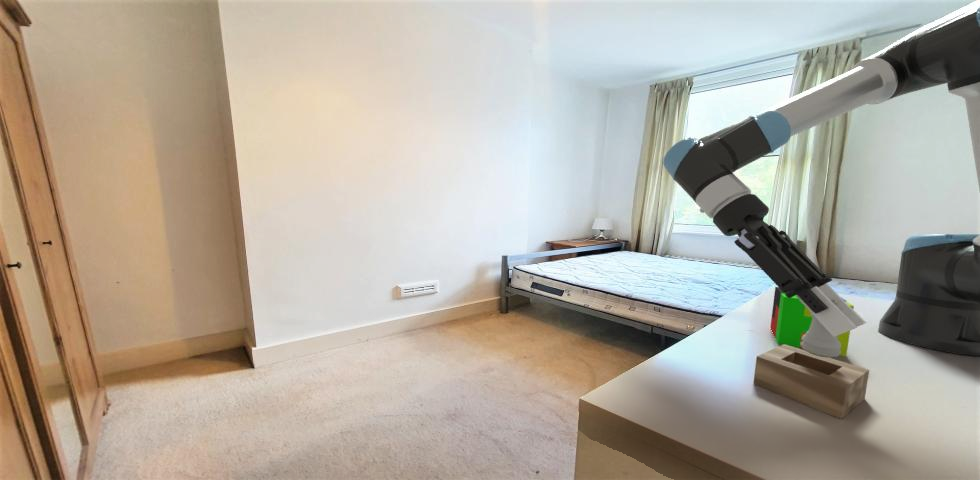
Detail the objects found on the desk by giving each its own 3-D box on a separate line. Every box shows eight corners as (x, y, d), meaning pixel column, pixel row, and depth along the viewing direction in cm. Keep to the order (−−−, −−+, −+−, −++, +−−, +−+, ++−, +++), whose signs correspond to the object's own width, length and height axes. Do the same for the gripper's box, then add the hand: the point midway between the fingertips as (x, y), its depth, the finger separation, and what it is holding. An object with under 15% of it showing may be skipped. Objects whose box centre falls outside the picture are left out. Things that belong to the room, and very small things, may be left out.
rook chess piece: (850, 359, 48) (857, 306, 47) (813, 358, 49) (819, 307, 48) (825, 343, 52) (831, 294, 51) (792, 343, 53) (797, 295, 52)
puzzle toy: (829, 339, 73) (836, 294, 71) (846, 356, 64) (853, 305, 63) (770, 329, 78) (775, 286, 77) (778, 344, 70) (784, 296, 68)
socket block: (780, 369, 58) (784, 344, 58) (864, 398, 50) (869, 369, 49) (753, 383, 54) (756, 356, 53) (841, 419, 45) (846, 387, 44)
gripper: (736, 220, 66) (841, 331, 54) (688, 221, 58) (799, 351, 46) (772, 193, 61) (897, 309, 49) (725, 189, 53) (862, 327, 41)
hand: (849, 329), depth 47 cm, fingers closed on rook chess piece, 3 cm apart
